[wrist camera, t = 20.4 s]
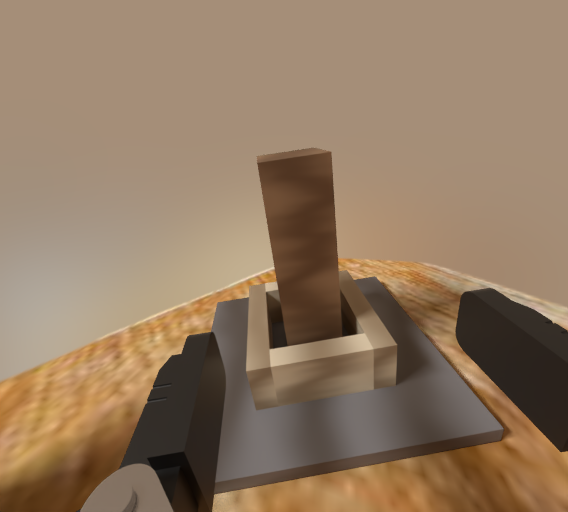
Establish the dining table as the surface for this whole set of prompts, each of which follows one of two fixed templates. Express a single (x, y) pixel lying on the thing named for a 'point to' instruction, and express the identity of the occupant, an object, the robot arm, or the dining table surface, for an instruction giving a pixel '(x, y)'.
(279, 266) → the walnut slat
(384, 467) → the dining table surface
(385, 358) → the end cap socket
